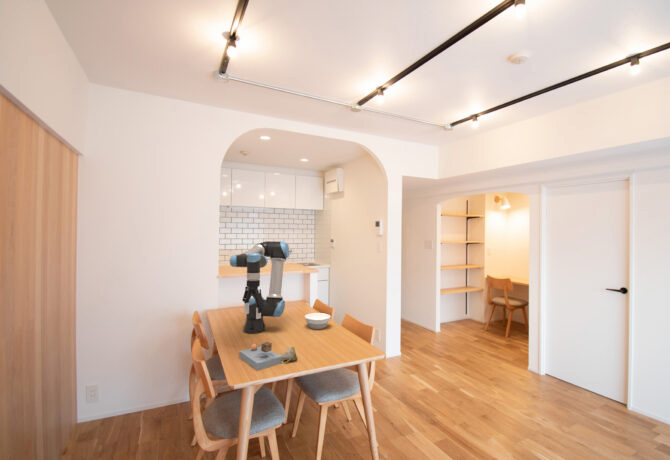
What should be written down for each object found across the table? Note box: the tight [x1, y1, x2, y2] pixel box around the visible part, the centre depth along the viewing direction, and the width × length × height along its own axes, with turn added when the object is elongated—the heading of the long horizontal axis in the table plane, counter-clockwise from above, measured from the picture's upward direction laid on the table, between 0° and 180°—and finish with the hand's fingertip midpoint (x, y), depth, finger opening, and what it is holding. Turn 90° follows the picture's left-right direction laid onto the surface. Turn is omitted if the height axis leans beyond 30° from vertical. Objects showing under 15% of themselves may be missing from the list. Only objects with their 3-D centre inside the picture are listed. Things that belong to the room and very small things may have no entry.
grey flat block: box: [238, 345, 282, 371], centre depth 169 cm, size 21×14×4 cm, turn 42°
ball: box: [250, 343, 258, 350], centre depth 174 cm, size 4×4×4 cm
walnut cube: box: [260, 341, 273, 352], centre depth 174 cm, size 4×4×4 cm
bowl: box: [304, 312, 332, 330], centre depth 230 cm, size 19×19×8 cm
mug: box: [279, 346, 298, 365], centre depth 169 cm, size 8×10×10 cm
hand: (252, 316), depth 180 cm, fingers open, 13 cm apart
